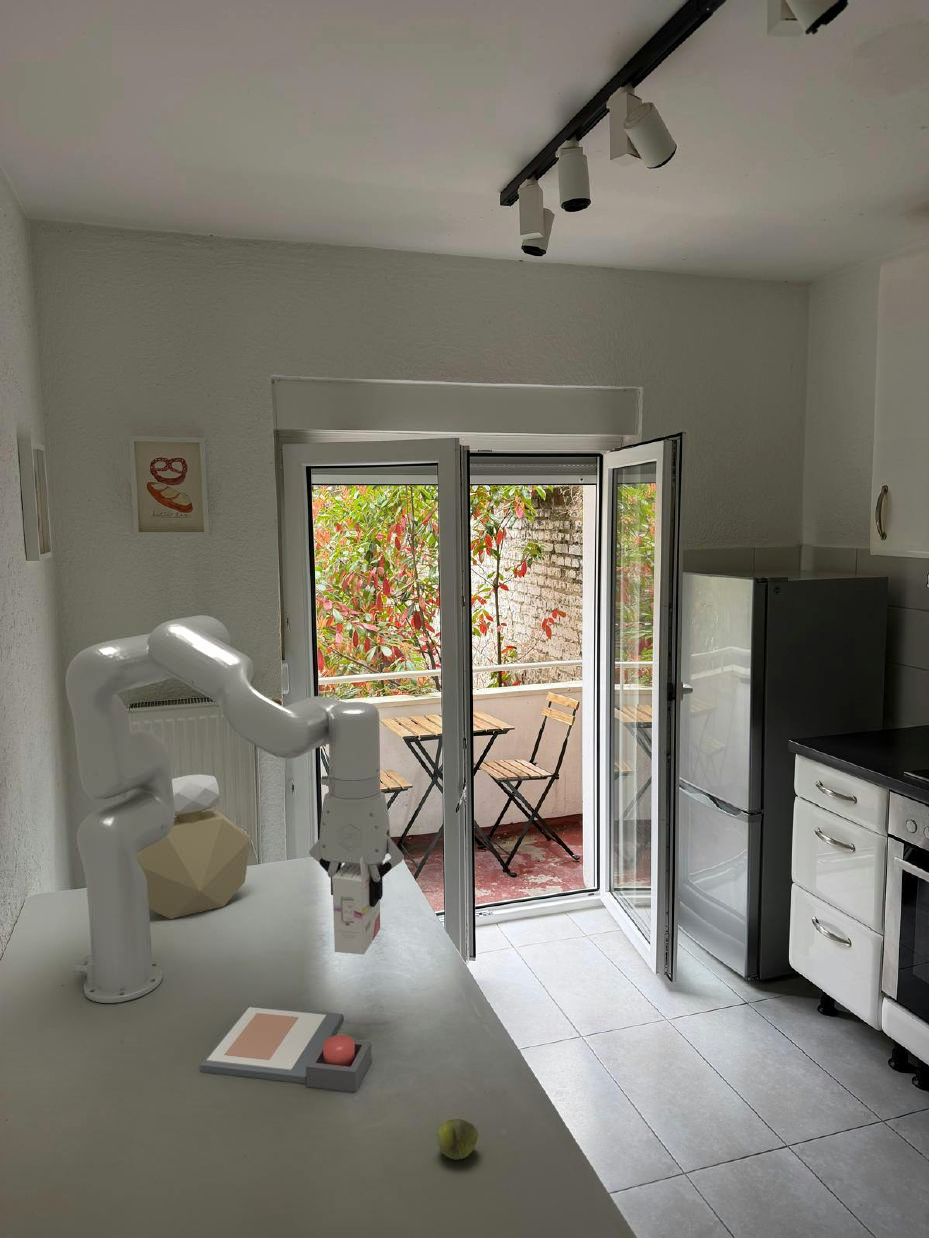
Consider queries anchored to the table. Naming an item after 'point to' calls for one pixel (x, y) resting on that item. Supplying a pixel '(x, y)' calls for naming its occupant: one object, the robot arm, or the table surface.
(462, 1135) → the lime
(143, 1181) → the table surface
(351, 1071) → the button housing
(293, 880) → the table surface
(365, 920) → the ink cartridge box
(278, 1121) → the table surface
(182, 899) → the perfume bottle
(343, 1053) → the button
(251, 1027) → the sketch board
